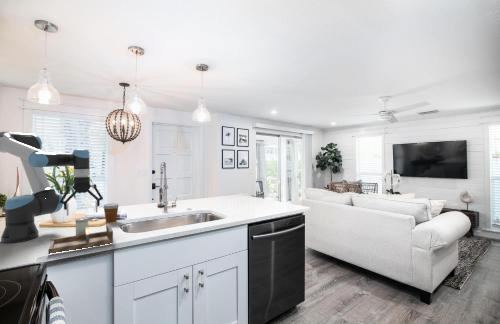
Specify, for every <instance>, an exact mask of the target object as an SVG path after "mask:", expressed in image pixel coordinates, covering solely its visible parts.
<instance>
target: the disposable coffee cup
mask: <svg viewBox="0 0 500 324" xmlns="http://www.w3.org/2000/svg"><path fill="white" fill-rule="evenodd" d="M103 210H104V216H105V218H104V219H105V222H106V224H111V223H116V222H117V217H118V210H119V204H118V203H113V202H112V203H106V204H103Z"/></svg>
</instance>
